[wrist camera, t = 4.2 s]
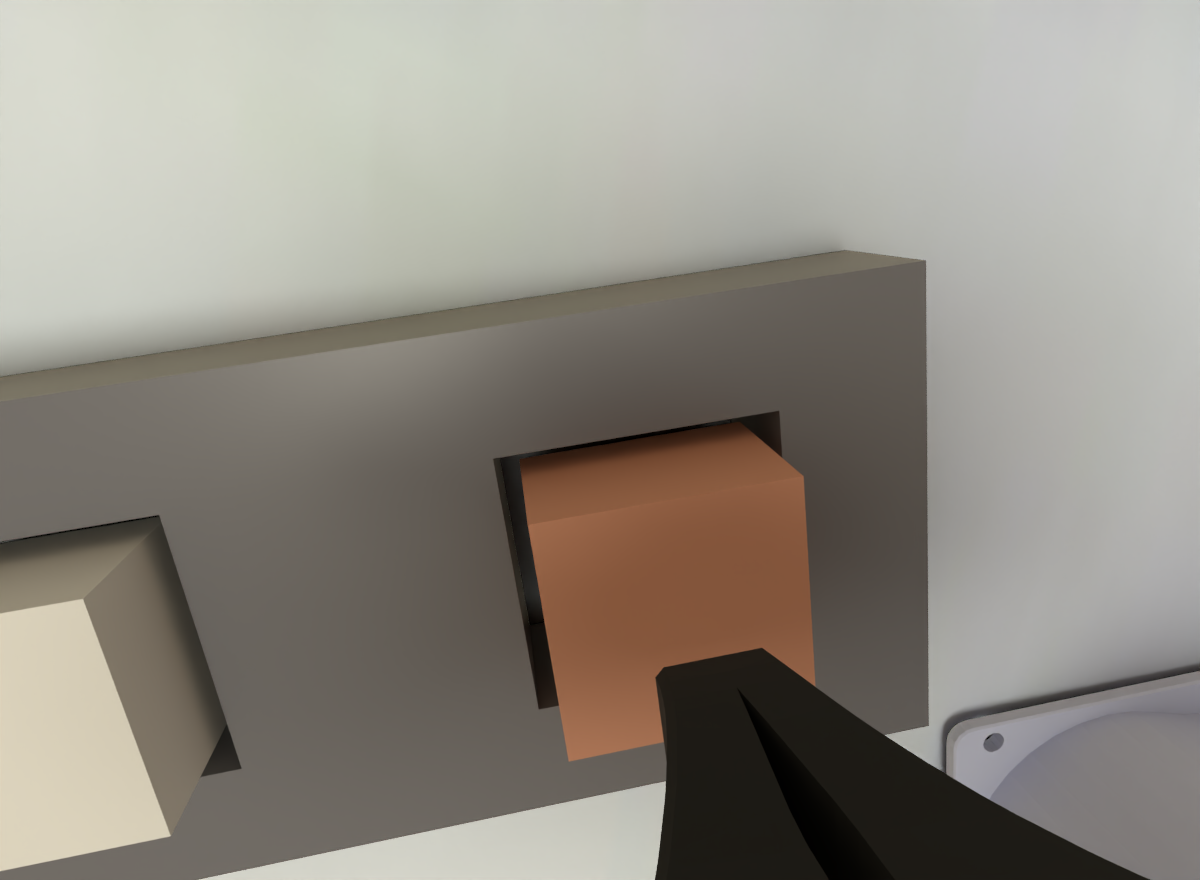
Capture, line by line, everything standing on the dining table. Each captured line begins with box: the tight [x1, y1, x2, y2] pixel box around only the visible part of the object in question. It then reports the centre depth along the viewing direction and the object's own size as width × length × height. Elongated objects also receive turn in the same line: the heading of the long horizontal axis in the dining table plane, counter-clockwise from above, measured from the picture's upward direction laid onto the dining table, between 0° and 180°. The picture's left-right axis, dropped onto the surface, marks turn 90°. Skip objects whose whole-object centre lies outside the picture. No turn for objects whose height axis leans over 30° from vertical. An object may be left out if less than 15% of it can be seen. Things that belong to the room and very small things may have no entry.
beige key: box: [0, 517, 227, 871], centre depth 12 cm, size 4×4×3 cm
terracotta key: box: [519, 422, 815, 761], centre depth 13 cm, size 4×4×3 cm
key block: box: [0, 250, 929, 880], centre depth 15 cm, size 20×9×3 cm, turn 98°
